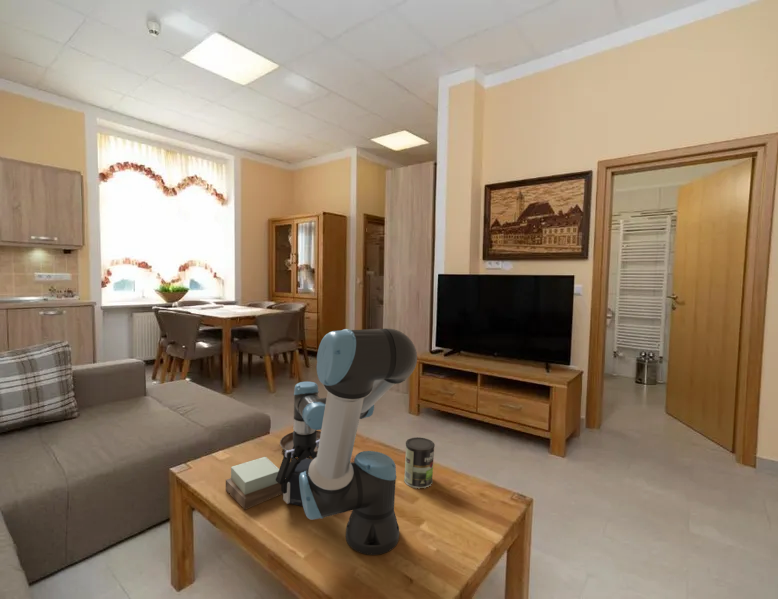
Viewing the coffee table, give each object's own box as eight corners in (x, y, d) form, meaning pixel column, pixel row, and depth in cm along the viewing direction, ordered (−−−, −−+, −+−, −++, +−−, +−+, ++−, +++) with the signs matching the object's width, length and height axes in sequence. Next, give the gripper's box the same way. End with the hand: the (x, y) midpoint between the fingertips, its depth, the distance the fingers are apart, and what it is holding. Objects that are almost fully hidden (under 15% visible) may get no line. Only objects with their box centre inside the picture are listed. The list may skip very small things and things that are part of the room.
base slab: (285, 493, 130) (285, 482, 130) (244, 511, 120) (244, 498, 120) (264, 476, 140) (264, 466, 139) (225, 491, 130) (225, 480, 129)
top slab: (280, 482, 130) (280, 470, 129) (244, 494, 122) (245, 482, 121) (265, 467, 138) (265, 456, 138) (230, 478, 130) (231, 466, 130)
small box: (305, 507, 122) (306, 475, 121) (286, 504, 123) (287, 472, 123) (318, 489, 133) (319, 459, 132) (300, 486, 134) (301, 456, 133)
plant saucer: (315, 464, 149) (315, 456, 149) (269, 453, 156) (269, 446, 156) (338, 442, 169) (338, 434, 169) (297, 433, 175) (297, 426, 175)
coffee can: (437, 479, 142) (439, 442, 141) (423, 492, 133) (425, 452, 132) (413, 470, 148) (414, 434, 146) (398, 482, 139) (400, 444, 138)
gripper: (328, 417, 137) (326, 476, 139) (265, 436, 120) (263, 503, 122) (341, 424, 132) (339, 485, 134) (277, 444, 115) (275, 514, 117)
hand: (303, 493), depth 128 cm, fingers closed on small box, 12 cm apart
